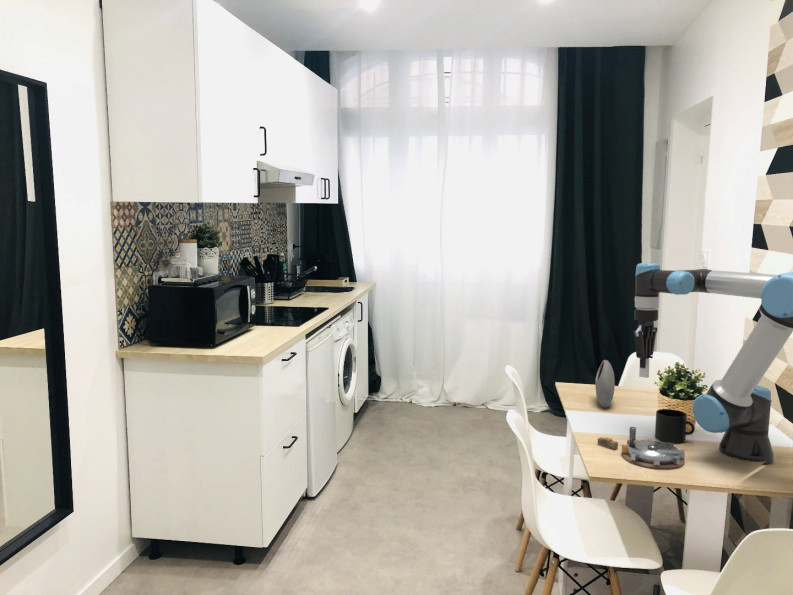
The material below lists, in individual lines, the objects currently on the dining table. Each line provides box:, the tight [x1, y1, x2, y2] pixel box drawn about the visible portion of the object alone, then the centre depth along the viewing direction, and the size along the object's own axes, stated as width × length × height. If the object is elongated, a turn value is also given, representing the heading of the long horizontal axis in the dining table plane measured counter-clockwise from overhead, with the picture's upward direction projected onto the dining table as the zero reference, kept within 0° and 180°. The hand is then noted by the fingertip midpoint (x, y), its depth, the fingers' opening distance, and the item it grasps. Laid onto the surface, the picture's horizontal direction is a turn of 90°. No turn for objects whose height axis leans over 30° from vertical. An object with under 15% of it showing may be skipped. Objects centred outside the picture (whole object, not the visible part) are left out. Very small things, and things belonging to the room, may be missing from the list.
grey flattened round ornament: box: [595, 359, 616, 409], centre depth 246 cm, size 18×7×19 cm, turn 165°
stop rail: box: [597, 437, 619, 451], centre depth 202 cm, size 6×2×3 cm, turn 41°
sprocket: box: [621, 426, 685, 466], centre depth 193 cm, size 18×18×8 cm
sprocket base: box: [620, 451, 685, 471], centre depth 193 cm, size 18×18×1 cm
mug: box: [654, 408, 696, 444], centre depth 210 cm, size 9×12×9 cm
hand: (644, 376), depth 215 cm, fingers closed
